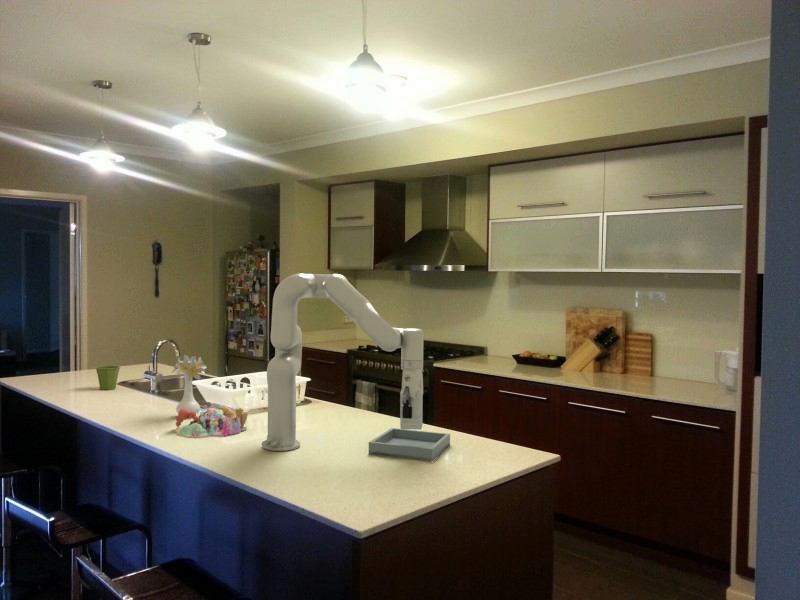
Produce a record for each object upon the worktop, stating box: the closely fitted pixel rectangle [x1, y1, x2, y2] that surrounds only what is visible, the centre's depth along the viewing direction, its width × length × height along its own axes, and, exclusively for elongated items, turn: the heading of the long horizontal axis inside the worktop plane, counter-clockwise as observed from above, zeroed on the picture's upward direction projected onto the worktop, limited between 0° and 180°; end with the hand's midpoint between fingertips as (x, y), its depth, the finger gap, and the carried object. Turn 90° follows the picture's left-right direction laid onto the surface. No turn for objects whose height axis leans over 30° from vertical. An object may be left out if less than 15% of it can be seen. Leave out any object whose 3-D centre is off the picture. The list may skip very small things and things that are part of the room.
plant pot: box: [94, 365, 121, 391], centre depth 318 cm, size 12×12×11 cm
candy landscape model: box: [174, 406, 248, 439], centre depth 236 cm, size 25×24×9 cm
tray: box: [368, 427, 451, 462], centre depth 214 cm, size 22×22×4 cm
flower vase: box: [171, 354, 207, 419], centre depth 258 cm, size 13×18×25 cm
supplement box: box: [399, 390, 424, 431], centre depth 214 cm, size 7×7×13 cm
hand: (411, 415), depth 214 cm, fingers closed on supplement box, 8 cm apart
